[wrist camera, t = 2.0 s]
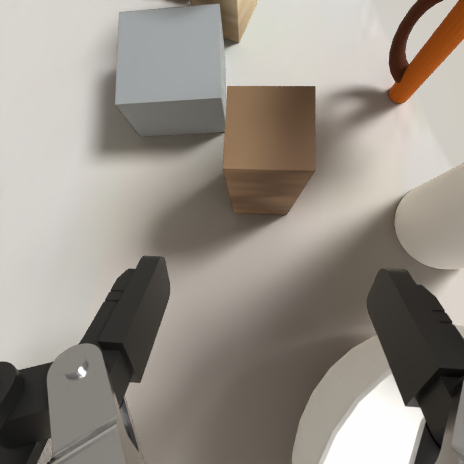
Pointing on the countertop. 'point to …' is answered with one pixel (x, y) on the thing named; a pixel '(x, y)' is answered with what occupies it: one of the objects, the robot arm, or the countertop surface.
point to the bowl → (358, 413)
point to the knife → (430, 56)
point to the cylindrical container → (434, 221)
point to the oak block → (232, 15)
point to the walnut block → (268, 146)
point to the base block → (172, 70)
